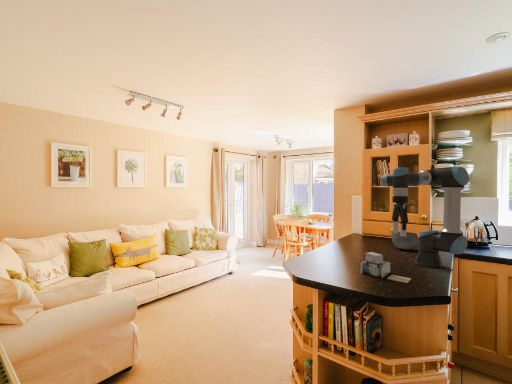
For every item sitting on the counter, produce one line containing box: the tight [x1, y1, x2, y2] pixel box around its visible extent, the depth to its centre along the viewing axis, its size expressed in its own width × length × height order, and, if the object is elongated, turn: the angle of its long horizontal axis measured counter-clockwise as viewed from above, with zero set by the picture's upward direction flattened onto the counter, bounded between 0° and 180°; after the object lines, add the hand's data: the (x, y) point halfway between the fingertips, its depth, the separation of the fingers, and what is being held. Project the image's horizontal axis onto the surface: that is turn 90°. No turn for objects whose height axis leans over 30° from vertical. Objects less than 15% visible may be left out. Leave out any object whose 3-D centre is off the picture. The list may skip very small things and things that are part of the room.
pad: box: [386, 274, 412, 284], centre depth 146 cm, size 9×10×1 cm
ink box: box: [364, 251, 384, 277], centre depth 156 cm, size 8×5×12 cm, turn 23°
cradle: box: [360, 259, 391, 279], centre depth 158 cm, size 14×12×6 cm
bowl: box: [391, 231, 419, 251], centre depth 235 cm, size 20×20×15 cm
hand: (399, 234), depth 148 cm, fingers open, 13 cm apart
